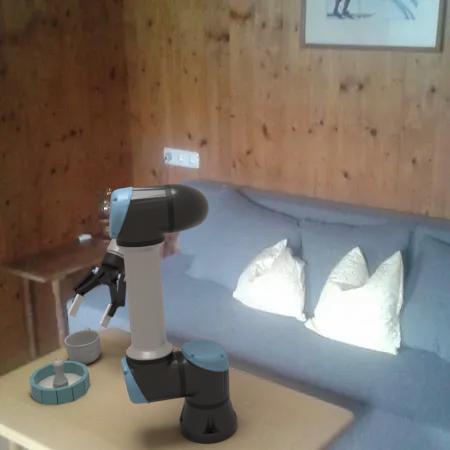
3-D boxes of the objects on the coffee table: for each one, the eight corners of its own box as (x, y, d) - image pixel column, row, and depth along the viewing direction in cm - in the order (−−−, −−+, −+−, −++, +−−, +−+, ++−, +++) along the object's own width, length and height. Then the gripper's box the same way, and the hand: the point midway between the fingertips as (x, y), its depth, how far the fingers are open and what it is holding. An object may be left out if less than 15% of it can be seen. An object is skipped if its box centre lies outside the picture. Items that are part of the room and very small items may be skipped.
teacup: (94, 369, 203) (91, 346, 201) (61, 366, 206) (58, 343, 203) (110, 347, 216) (108, 325, 214) (79, 345, 218) (76, 323, 216)
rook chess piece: (49, 388, 192) (46, 363, 190) (58, 380, 196) (55, 356, 193) (63, 390, 190) (60, 365, 188) (71, 382, 194) (69, 358, 192)
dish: (101, 384, 195) (99, 371, 194) (56, 411, 182) (55, 396, 181) (64, 368, 204) (62, 355, 203) (19, 392, 192) (18, 379, 191)
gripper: (154, 269, 198) (124, 335, 192) (96, 254, 213) (66, 315, 206) (140, 259, 193) (109, 326, 186) (81, 244, 207) (50, 306, 200)
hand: (86, 320), depth 196 cm, fingers open, 13 cm apart
